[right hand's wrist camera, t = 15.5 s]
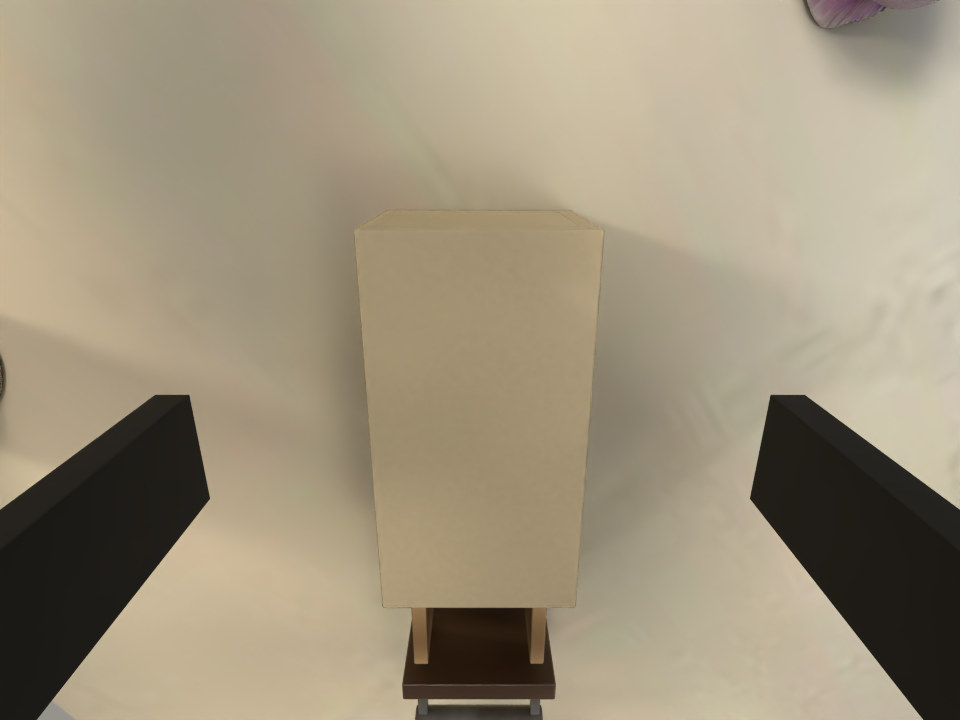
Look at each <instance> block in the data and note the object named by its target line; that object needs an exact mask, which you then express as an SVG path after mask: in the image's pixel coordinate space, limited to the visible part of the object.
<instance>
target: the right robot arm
mask: <svg viewBox="0 0 960 720" xmlns="http://www.w3.org/2000/svg"><path fill="white" fill-rule="evenodd" d="M209 499H210V496H209V491H208V486H207V481H206V476H205V471H204V466H203V461H202V456H201V451H200V446H199V441H198V436H197V431H196V426H195V421H194V416H193V411H192V406H191V401H190V396H189V395H155V396H153V397H152V398H151V399H149V400H148V401H146V402H145V403H144V404H142V405H141V406H140V407H138V408H137V409H136V410H134V411H133V412H132V413H130V414H129V415H128V416H126V417H125V418H124V419H122V420H121V421H119V422H118V423H117V424H115V425H114V426H113V427H111V428H110V429H109V430H107V431H106V432H105V433H103V434H102V435H101V436H99V437H98V438H97V439H95V440H94V441H92V442H91V443H90V444H88V445H87V446H86V447H84V448H83V449H82V450H80V451H79V452H78V453H76V454H75V455H74V456H72V457H71V458H69V459H68V460H67V461H65V462H64V463H63V464H61V465H60V466H59V467H57V468H56V469H55V470H53V471H52V472H51V473H49V474H48V475H47V476H45V477H44V478H42V479H41V480H40V481H38V482H37V483H36V484H34V485H33V486H32V487H30V488H29V489H28V490H26V491H25V492H24V493H22V494H21V495H19V496H18V497H17V498H15V499H14V500H13V501H11V502H10V503H9V504H7V505H6V506H5V507H3V508H2V509H1V510H0V720H37V719H38V717H39V716H40V715H41V714H42V712H43V711H44V710H45V708H46V707H47V706H48V705H49V703H50V702H51V701H52V700H53V698H54V697H55V696H56V694H57V693H58V692H59V691H60V689H61V688H62V687H63V686H64V684H65V683H66V682H67V680H68V679H69V678H70V677H71V675H72V674H73V673H74V672H75V670H76V669H77V668H78V666H79V665H80V664H81V663H82V661H83V660H84V659H85V658H86V656H87V655H88V654H89V652H90V651H91V650H92V649H93V647H94V646H95V645H96V644H97V642H98V641H99V640H100V638H101V637H102V636H103V635H104V633H105V632H106V631H107V629H108V628H109V627H110V626H111V624H112V623H113V622H114V621H115V619H116V618H117V617H118V615H119V614H120V613H121V612H122V610H123V609H124V608H125V607H126V605H127V604H128V603H129V601H130V600H131V599H132V598H133V596H134V595H135V594H136V593H137V591H138V590H139V589H140V587H141V586H142V585H143V584H144V582H145V581H146V580H147V578H148V577H149V576H150V575H151V573H152V572H153V571H154V570H155V568H156V567H157V566H158V564H159V563H160V562H161V561H162V559H163V558H164V557H165V556H166V554H167V553H168V552H169V550H170V549H171V548H172V547H173V545H174V544H175V543H176V542H177V540H178V539H179V538H180V536H181V535H182V534H183V533H184V531H185V530H186V529H187V527H188V526H189V525H190V524H191V522H192V521H193V520H194V519H195V517H196V516H197V515H198V513H199V512H200V511H201V510H202V508H203V507H204V506H205V505H206V503H207V502H208V501H209ZM750 499H751V501H752V502H753V503H754V505H755V506H756V507H757V508H758V510H759V511H760V512H761V513H762V515H763V516H764V517H765V519H766V520H767V521H768V522H769V524H770V525H771V526H772V527H773V529H774V530H775V531H776V533H777V534H778V535H779V536H780V538H781V539H782V540H783V542H784V543H785V544H786V545H787V547H788V548H789V549H790V550H791V552H792V553H793V554H794V556H795V557H796V558H797V559H798V561H799V562H800V563H801V564H802V566H803V567H804V568H805V570H806V571H807V572H808V573H809V575H810V576H811V577H812V578H813V580H814V581H815V582H816V584H817V585H818V586H819V587H820V589H821V590H822V591H823V593H824V594H825V595H826V596H827V598H828V599H829V600H830V601H831V603H832V604H833V605H834V607H835V608H836V609H837V610H838V612H839V613H840V614H841V615H842V617H843V618H844V619H845V621H846V622H847V623H848V624H849V626H850V627H851V628H852V629H853V631H854V632H855V633H856V635H857V636H858V637H859V638H860V640H861V641H862V642H863V644H864V645H865V646H866V647H867V649H868V650H869V651H870V652H871V654H872V655H873V656H874V658H875V659H876V660H877V661H878V663H879V664H880V665H881V666H882V668H883V669H884V670H885V672H886V673H887V674H888V675H889V677H890V678H891V679H892V680H893V682H894V683H895V684H896V686H897V687H898V688H899V689H900V691H901V692H902V693H903V694H904V696H905V697H906V698H907V700H908V701H909V702H910V703H911V705H912V706H913V707H914V709H915V710H916V711H917V712H918V714H919V715H920V716H921V717H922V719H923V720H960V510H959V509H958V508H957V507H955V506H954V505H953V504H951V503H950V502H949V501H947V500H946V499H945V498H943V497H942V496H940V495H939V494H938V493H936V492H935V491H934V490H932V489H931V488H930V487H928V486H927V485H926V484H924V483H923V482H922V481H920V480H919V479H918V478H916V477H915V476H913V475H912V474H911V473H909V472H908V471H907V470H905V469H904V468H903V467H901V466H900V465H899V464H897V463H896V462H895V461H893V460H892V459H891V458H889V457H888V456H886V455H885V454H884V453H882V452H881V451H880V450H878V449H877V448H876V447H874V446H873V445H872V444H870V443H869V442H868V441H866V440H865V439H863V438H862V437H861V436H859V435H858V434H857V433H855V432H854V431H853V430H851V429H850V428H849V427H847V426H846V425H845V424H843V423H842V422H841V421H839V420H838V419H836V418H835V417H834V416H832V415H831V414H830V413H828V412H827V411H826V410H824V409H823V408H822V407H820V406H819V405H818V404H816V403H815V402H814V401H812V400H811V399H809V398H808V397H807V396H805V395H771V396H770V401H769V406H768V411H767V416H766V421H765V426H764V431H763V436H762V441H761V446H760V451H759V456H758V461H757V466H756V471H755V476H754V481H753V486H752V491H751V496H750Z"/></svg>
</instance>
